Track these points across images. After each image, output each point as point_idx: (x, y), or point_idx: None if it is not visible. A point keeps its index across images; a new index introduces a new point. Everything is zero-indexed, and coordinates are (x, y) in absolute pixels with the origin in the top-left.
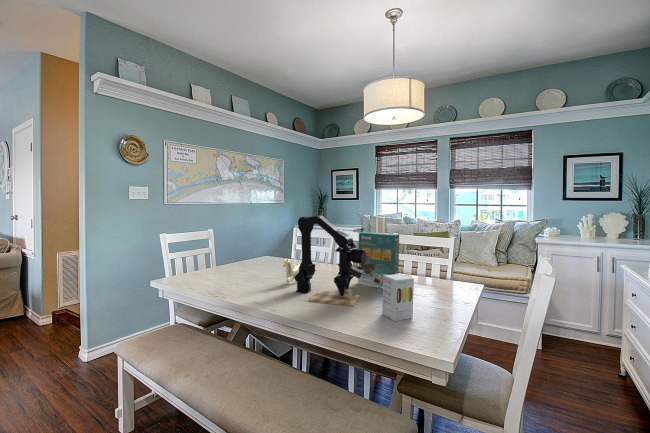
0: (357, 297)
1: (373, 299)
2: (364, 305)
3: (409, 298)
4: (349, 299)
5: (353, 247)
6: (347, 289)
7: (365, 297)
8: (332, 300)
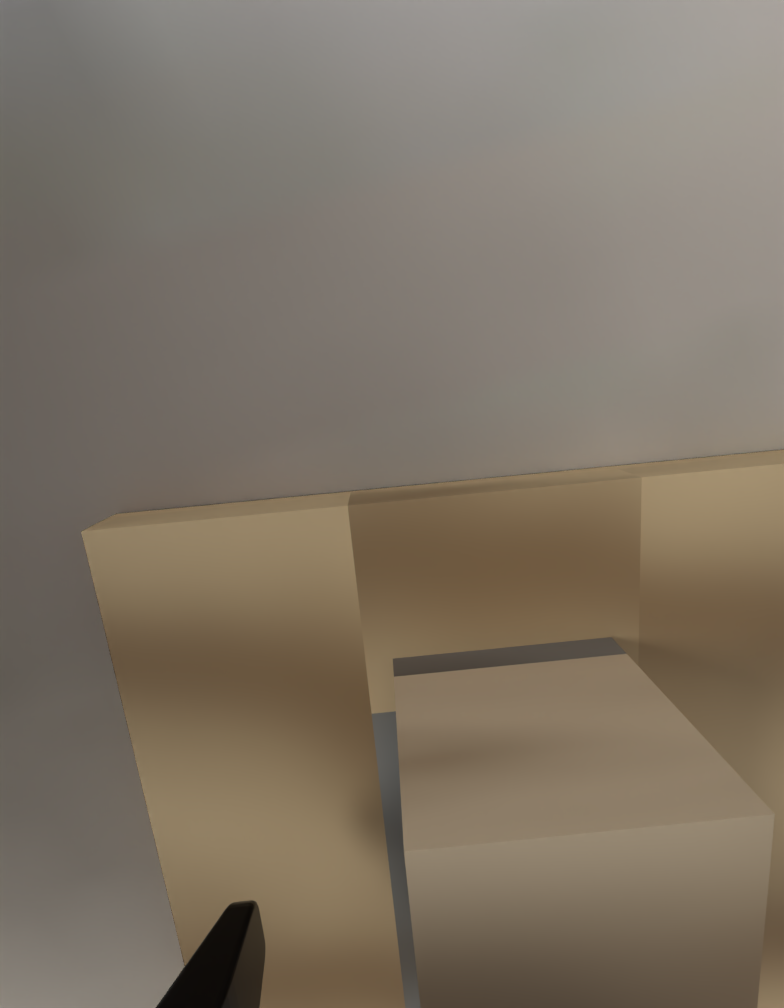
0: (355, 506)
1: (97, 65)
2: (717, 192)
3: None
4: (613, 643)
5: None
6: (537, 963)
7: (46, 352)
8: None
